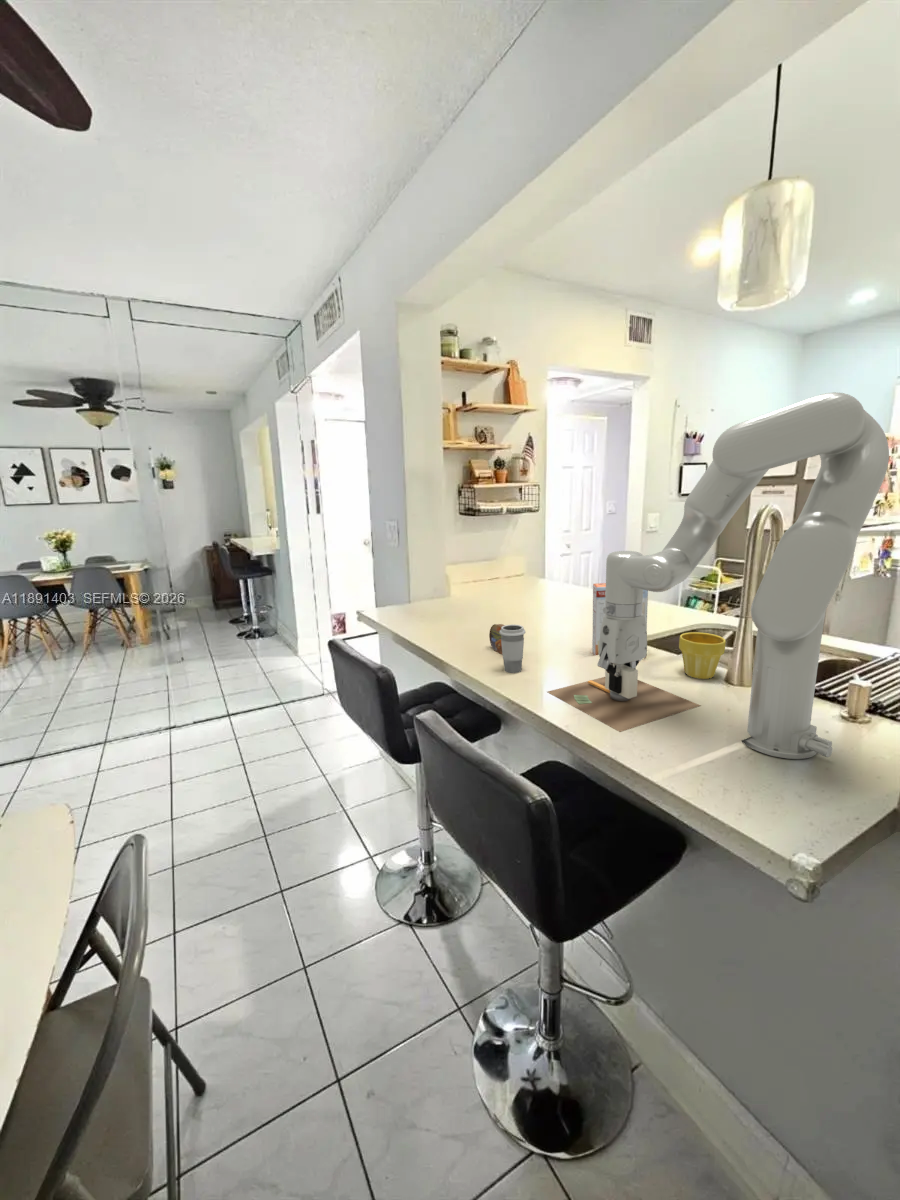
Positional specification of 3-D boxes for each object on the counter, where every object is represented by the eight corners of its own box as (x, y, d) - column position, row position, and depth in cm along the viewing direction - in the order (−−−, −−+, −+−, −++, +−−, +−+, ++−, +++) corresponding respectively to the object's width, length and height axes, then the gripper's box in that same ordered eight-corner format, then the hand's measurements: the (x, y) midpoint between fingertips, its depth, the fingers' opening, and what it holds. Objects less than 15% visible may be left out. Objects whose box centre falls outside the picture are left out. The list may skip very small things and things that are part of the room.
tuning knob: (639, 700, 109) (641, 669, 108) (624, 704, 107) (625, 673, 106) (596, 680, 121) (597, 652, 120) (582, 684, 119) (582, 655, 118)
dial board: (700, 712, 107) (701, 705, 106) (619, 739, 97) (619, 731, 96) (620, 678, 127) (620, 672, 126) (546, 697, 117) (546, 691, 117)
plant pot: (724, 671, 129) (727, 634, 126) (720, 685, 120) (723, 646, 118) (681, 665, 134) (683, 629, 132) (673, 677, 126) (676, 640, 124)
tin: (488, 647, 156) (488, 621, 154) (497, 646, 157) (496, 620, 155) (514, 661, 142) (514, 633, 140) (524, 659, 144) (523, 631, 142)
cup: (510, 676, 131) (510, 632, 128) (494, 669, 136) (493, 627, 134) (531, 670, 135) (530, 627, 132) (514, 663, 140) (514, 622, 138)
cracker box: (640, 651, 146) (643, 581, 142) (646, 658, 140) (649, 585, 136) (591, 651, 148) (592, 582, 143) (594, 658, 142) (596, 586, 137)
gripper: (607, 618, 100) (604, 704, 104) (664, 607, 107) (660, 688, 111) (582, 611, 107) (580, 691, 111) (637, 601, 114) (634, 677, 118)
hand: (620, 689), depth 111 cm, fingers closed on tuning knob, 2 cm apart
